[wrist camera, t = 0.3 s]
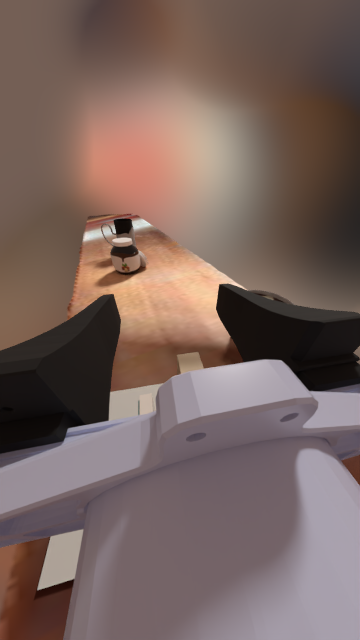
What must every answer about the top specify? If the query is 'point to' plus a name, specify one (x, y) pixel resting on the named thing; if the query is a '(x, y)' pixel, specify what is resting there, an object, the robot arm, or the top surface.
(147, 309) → the top surface
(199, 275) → the top surface
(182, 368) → the stick
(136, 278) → the top surface
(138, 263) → the spread jar
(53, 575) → the mat
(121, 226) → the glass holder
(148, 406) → the tile
